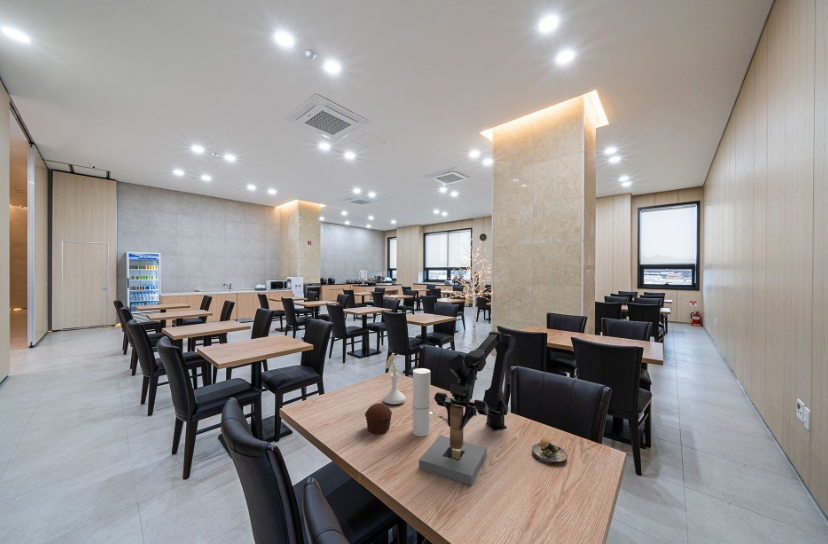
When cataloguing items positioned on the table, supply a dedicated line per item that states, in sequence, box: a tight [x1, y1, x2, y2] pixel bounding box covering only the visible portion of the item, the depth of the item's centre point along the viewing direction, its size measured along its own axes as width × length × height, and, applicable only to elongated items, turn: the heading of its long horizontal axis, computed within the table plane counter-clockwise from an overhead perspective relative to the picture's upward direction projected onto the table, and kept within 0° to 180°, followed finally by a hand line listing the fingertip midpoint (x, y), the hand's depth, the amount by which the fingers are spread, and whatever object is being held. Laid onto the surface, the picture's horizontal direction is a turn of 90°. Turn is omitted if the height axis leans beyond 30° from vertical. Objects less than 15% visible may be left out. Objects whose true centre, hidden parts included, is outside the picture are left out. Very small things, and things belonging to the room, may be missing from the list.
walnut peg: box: [449, 405, 465, 449], centre depth 108 cm, size 4×4×13 cm
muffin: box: [364, 402, 393, 436], centre depth 131 cm, size 12×11×10 cm
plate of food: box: [531, 433, 568, 466], centre depth 113 cm, size 12×12×8 cm
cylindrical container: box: [412, 367, 431, 437], centre depth 129 cm, size 7×7×25 cm
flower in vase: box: [382, 353, 406, 405], centre depth 158 cm, size 13×11×25 cm
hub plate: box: [418, 434, 488, 486], centre depth 108 cm, size 18×18×3 cm
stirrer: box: [430, 409, 448, 419], centre depth 143 cm, size 20×4×5 cm
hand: (455, 427), depth 107 cm, fingers closed on walnut peg, 4 cm apart
